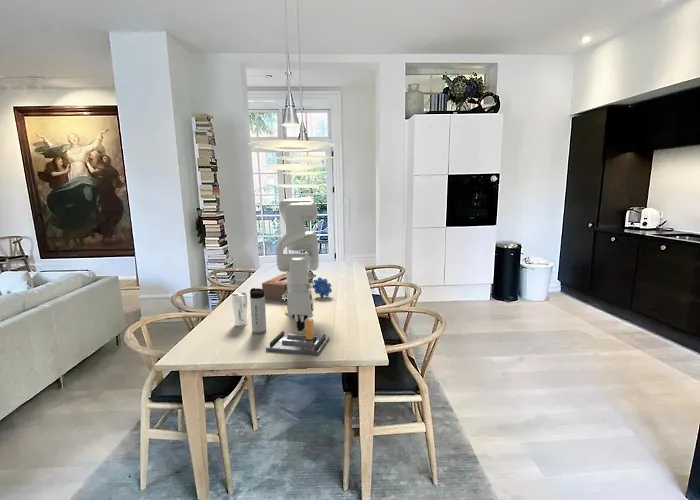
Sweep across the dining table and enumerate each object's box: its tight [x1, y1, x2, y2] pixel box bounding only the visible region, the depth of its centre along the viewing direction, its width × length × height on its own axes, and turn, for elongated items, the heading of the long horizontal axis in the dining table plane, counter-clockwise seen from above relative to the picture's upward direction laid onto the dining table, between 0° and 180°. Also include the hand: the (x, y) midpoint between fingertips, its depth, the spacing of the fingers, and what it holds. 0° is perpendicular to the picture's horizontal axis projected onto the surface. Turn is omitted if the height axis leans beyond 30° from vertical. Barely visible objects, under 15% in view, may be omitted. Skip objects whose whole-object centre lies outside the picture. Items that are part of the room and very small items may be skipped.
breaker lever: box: [305, 318, 315, 342], centre depth 150 cm, size 4×3×9 cm
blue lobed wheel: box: [311, 277, 333, 298], centre depth 217 cm, size 12×7×12 cm, turn 88°
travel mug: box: [249, 287, 267, 335], centre depth 165 cm, size 6×7×20 cm
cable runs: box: [269, 330, 327, 350], centre depth 152 cm, size 13×20×1 cm, turn 77°
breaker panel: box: [265, 331, 330, 356], centre depth 152 cm, size 16×22×3 cm
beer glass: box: [231, 291, 248, 327], centre depth 175 cm, size 7×7×15 cm
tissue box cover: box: [261, 273, 287, 302], centre depth 225 cm, size 26×14×10 cm, turn 161°
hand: (300, 329), depth 151 cm, fingers closed
